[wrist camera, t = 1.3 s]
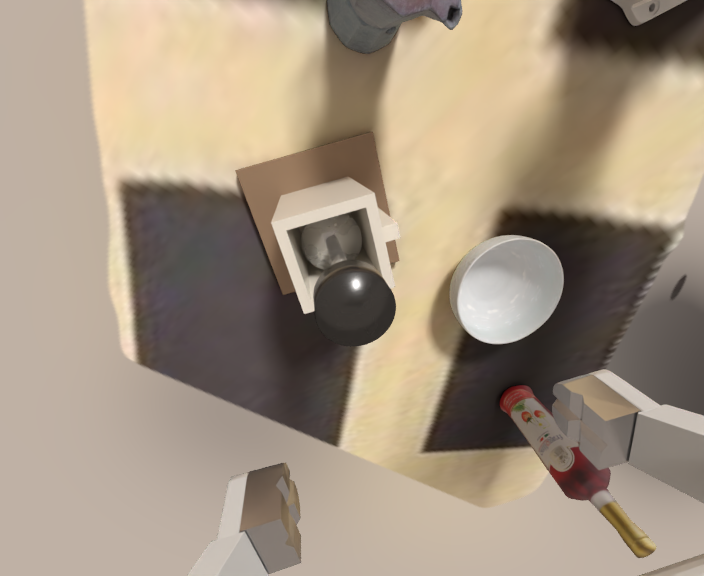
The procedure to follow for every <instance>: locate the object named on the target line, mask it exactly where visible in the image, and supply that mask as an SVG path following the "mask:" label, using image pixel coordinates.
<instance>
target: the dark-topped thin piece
mask: <svg viewBox="0 0 704 576" xmlns="http://www.w3.org/2000/svg"><path fill="white" fill-rule="evenodd" d="M301 243H302V249H303V252H304V254H305V256H306V258H307V259H308V260H309V261H310V262H311V263H312V264H313V265H314V266H316V267H318V268H320V269H323V270H325V271H324V272H323V273H322V274H321V275H320V276H319V278H318V280H317V282H316V284H315V287H314V292H313V299H314V310H315V319H316V323H317V325H318V327H319V329H320V331H321V332H322V333H323V334H324V336H326V337H327V338H328V339H329V340H331V341H333V342H335V343H337V344H340V345H344V346H361V345H365V344H368V343H371V342H373V341H375V340H376V339H378V338H379V337H381V336H382V335H383V334H384V333H385V332H386V331H387V330H388V328H389V327H390V325H391V324H392V321H393V319H394V316H395V311H396V303H395V298H394V295H393V293H392V291H391V289H390V288H389V286H388V284H387V283H386V281H385V280H384V278H383V277H382V275H381V274H380V272H379V271H378V270H377V269H376V268H375V267H373V266H372V265H370V264H368V263H366V262H363V261H360V260H355V259H356V258H357V256H358V255H359V253H360V250H361V246H362V235H361V231H360V229H359V226H358V225H357V223H356V222H355V221H354V220H353V219H352V218H351V217H350V216H349V215H347V214H342V215H338V216H335V217H331V218H328V219H324V220H321V221H317V222H314V223H310V224H307V225H305V227H304V229H303V232H302V237H301Z"/></svg>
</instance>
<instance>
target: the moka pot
mask: <svg viewBox="0 0 704 576" xmlns="http://www.w3.org/2000/svg"><path fill="white" fill-rule="evenodd" d="M327 4H328V14H329V23H330V25H331V27H332V29H333V31H334V32H335V34H336V35H337V36H338V38H339V39H340V40H341V42H342V43H343V44H344V45H345V46H346V47H348V48H350V49H351V50H354V51H357V52H361V53H365V54H369V53H372V52H375V51H377V50H379V49H381V48H382V47H384V46H386V45H388V44H389V43H390V42H391V40H392V39H393V37H394V35H395V33H396V32H397V30H398V28H399V27H400V25H401V23H402V22H405V21H408V20H411V19H414V18H416V17H419V16H426V17H429V18H431V19H434V20H437V21H440V22H442V23H443V24H444V25H445V26H446V27H447V28H448V29H450V30H453V29H454V27H455V26H456V25H457V24H458V23H459V20H460V18H461V16H462V6H461V0H327Z"/></svg>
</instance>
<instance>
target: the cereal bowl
mask: <svg viewBox="0 0 704 576" xmlns="http://www.w3.org/2000/svg"><path fill="white" fill-rule="evenodd" d="M563 284H564V275H563V269H562V265H561V262H560V260H559V258H558V257H557V255H556V254H555V252H554V251H553V250H552V249H551V248H549V247H548V246H547V245H545V244H544V243H542V242H540V241H537V240H535V239H531V238H528V237H524V236H519V235H506V236H499V237H495V238H491V239H489V240H486V241H484V242H482V243H480V244H479V245H477V246H475V247H474V248H473V249H472V250H470V251H469V252H468V253H467V254H466V255H465V256H464V258H463V259H462V260H461V261H460V263H459V264H458V266H457V268H456V269H455V272H454V274H453V277H452V280H451V283H450V290H449V291H450V293H449V296H450V305H451V308H452V311H453V313H454V315H455V317H456V319H457V321H458V322H459V323H460V325H461V326H462V327H463V328H464V329H465V331H466V332H468V333H469V334H470V335H471V336H473V337H474V338H476V339H478V340H480V341H482V342H485V343H490V344H506V343H511V342H514V341H517V340H520V339H522V338H524V337H526V336H528V335H530V334H531V333H533V332H534V331H535V330H537V329H538V328H539V327H540V326H542V325H543V324H544V323H545V322H546V320H547V319H548V318H549V317H550V316H551V314H552V313H553V311H554V310H555V308H556V306H557V304H558V302H559V300H560V297H561V294H562V290H563Z"/></svg>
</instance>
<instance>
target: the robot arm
mask: <svg viewBox="0 0 704 576" xmlns="http://www.w3.org/2000/svg"><path fill="white" fill-rule="evenodd" d="M611 1H613V2H614V3H616V4H618V5H619V6H620V7H621V8H622V9H623V11H624V13H625V15H626V17H627V19H628V21H629V22H630V23H631V24H632V25H633V26H638V25H640V24H642V23H644V22H646V21H648V20H650V19H652V18H654V17H656V16H658V15H660V14H662V13H664V12H666V11H668V10H670V9H671V8H673V7H675V6H677V5H679V4H681V3H683V2H685V1H687V0H611ZM649 7H650V10H649ZM553 394H554V395H555V396H556V397H557V399H556V401H555V402H554V404H553V405H552V414H553V417H554V420H555V422H556V424H557V426H558V427H559V429H560V430H561V431H562V432H563V433H564V435H565V436H566V437H567V438H570V439H572V440H574V441H577V442H578V444H579V450H580V451H581V452H582V453H583V454H584V455H585V457H586V458H587V459H588V460H589V461H590V462H591V463H592V464H593V465H594V466H595V467H596V468H597V469H598V470H601V469H605V468H609V467H612V466H616V465H619V464H623V463H626V462H629V463H628V464H630V465H632V466H633V467H635V468H637V469H639V470H641V471H643V472H645V473H647V474H649V475H651V476H652V477H655V478H656V479H658V480H660V481H662V482H664V483H666V484H668V485H670V486H672V487H674V488H676V489H677V490H679V491H681V492H683V493H685V494H687V495H689V496H691V497H693V498H695V499H697V500H699V501H700V502H702V503H704V416H702V415H699V414H696V413H692V412H689V411H686V410H683V409H679V408H676V407H673V406H669V405H662V406H660V405H658V404H657V403H656V402H654V401H653V400H651V399H650V398H648V397H647V396H646V395H644V394H643V393H641V392H640V391H638V390H637V389H635V388H634V387H632V386H631V385H630V384H628V383H627V382H625V381H624V380H622V379H621V378H619V377H618V376H616V375H615V374H614V373H612V372H611V371H608V370H605V369H603V370H599V371H596V372H593V373H589V374H587V375H582V376H579V377H575V378H572V379H569V380H565V381H562V382H559V383H556V384H555V386H554V387H553ZM289 477H290V471H289V469H288V466H287V464H286V463H281V464H277V465H273V466H269V467H265V468H262V469H258V470H254V471H250V472H247V473H243V474H240V475H236V476H232V477H231V479H230V480H229V483H228V486H227V491H226V496H225V501H224V507H223V511H222V516H221V521H220V526H219V531H218V537H217V540H214V541H211V543H210V544H209V545H208V547H207V548H206V549H205V551H204V552H203V554H202V555H201V556H200V558H199V559H198V561H197V562H196V564H195V565H194V566H193V568H192V569H191V571H190V572H189V574H188V575H187V576H269V575H268V574H270V573H273V572H276V571H279V570H282V569H285V568H288V567H291V566H294V565H296V564H299V563H301V535H300V533H299V530H298V528H297V526H296V525H297V523H298V521H299V520H300V504H299V497H298V492H297V488H296V486H295V483H294V481H292V480H290V479H289ZM639 576H704V554H702V555H699V556H696V557H693V558H690V559H687V560H684V561H681V562H678V563H675V564H672V565H669V566H666V567H663V568H660V569H657V570H654V571H651V572H649V573H645V574H642V575H639Z"/></svg>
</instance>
